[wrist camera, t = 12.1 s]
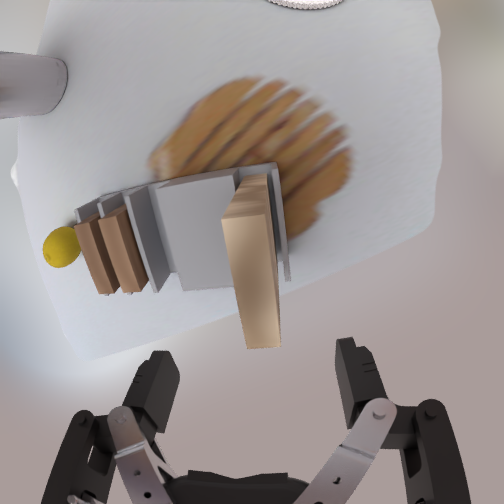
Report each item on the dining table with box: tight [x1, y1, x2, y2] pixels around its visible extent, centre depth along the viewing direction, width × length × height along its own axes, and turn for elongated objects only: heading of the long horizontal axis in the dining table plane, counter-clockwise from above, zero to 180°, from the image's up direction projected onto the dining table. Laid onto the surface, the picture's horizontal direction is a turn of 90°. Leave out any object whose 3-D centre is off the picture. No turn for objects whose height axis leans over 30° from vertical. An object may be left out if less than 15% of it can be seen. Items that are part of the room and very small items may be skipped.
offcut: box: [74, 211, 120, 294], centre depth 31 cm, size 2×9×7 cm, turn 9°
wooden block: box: [221, 173, 281, 349], centre depth 25 cm, size 2×10×16 cm, turn 8°
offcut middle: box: [98, 203, 149, 293], centre depth 31 cm, size 2×9×7 cm, turn 9°
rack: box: [74, 162, 291, 296], centre depth 31 cm, size 24×12×6 cm, turn 99°
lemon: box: [43, 227, 81, 268], centre depth 33 cm, size 6×6×8 cm
